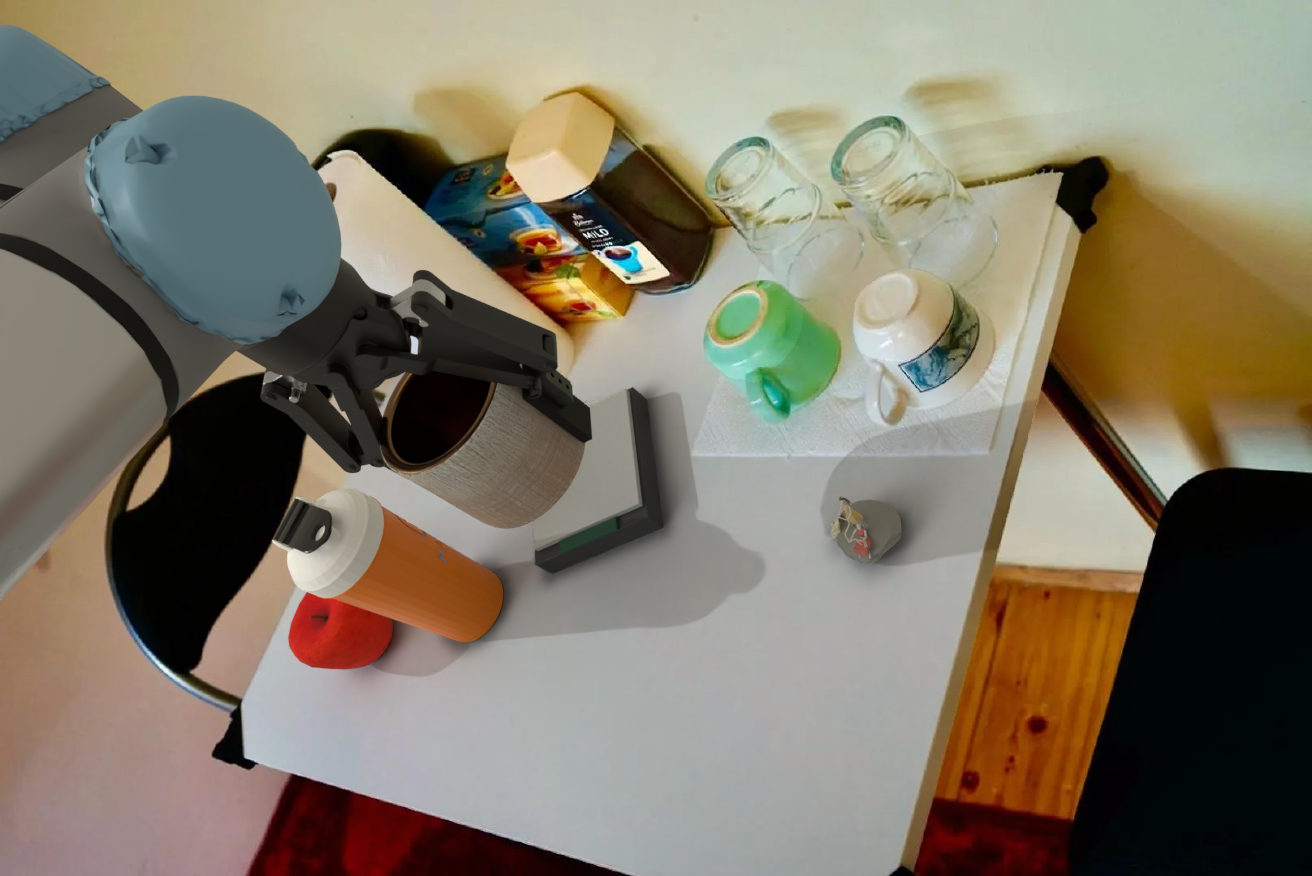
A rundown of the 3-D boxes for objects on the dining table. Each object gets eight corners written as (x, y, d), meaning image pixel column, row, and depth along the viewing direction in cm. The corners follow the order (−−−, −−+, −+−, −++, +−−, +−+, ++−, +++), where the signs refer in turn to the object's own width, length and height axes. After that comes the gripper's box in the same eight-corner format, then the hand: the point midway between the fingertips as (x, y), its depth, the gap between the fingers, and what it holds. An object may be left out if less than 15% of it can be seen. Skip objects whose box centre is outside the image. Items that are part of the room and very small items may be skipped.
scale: (663, 528, 76) (644, 514, 74) (551, 575, 80) (530, 563, 78) (646, 398, 84) (629, 383, 82) (545, 448, 89) (526, 434, 86)
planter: (525, 559, 61) (424, 504, 54) (452, 492, 68) (354, 437, 62) (618, 429, 62) (529, 359, 55) (535, 377, 69) (448, 309, 62)
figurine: (909, 507, 64) (879, 472, 60) (910, 565, 62) (880, 533, 58) (840, 516, 67) (806, 484, 63) (839, 572, 65) (804, 542, 61)
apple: (379, 582, 93) (319, 555, 88) (422, 615, 87) (360, 589, 82) (332, 659, 92) (267, 637, 86) (372, 699, 86) (306, 678, 80)
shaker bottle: (492, 660, 80) (309, 585, 65) (427, 645, 85) (245, 574, 71) (524, 565, 83) (357, 474, 68) (460, 557, 88) (292, 471, 74)
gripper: (422, 131, 46) (652, 349, 62) (144, 325, 55) (406, 471, 71) (414, 230, 42) (663, 437, 58) (114, 422, 51) (400, 555, 67)
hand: (521, 456), depth 64 cm, fingers closed on planter, 11 cm apart
